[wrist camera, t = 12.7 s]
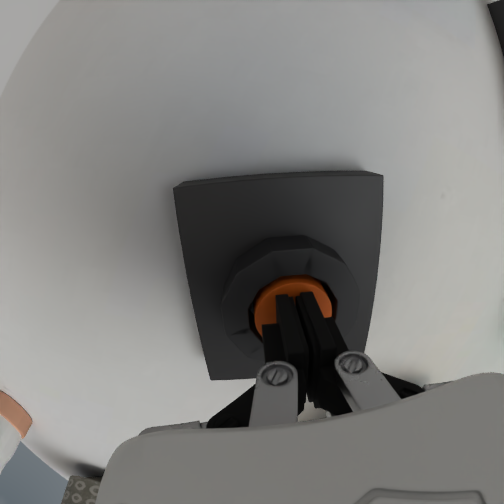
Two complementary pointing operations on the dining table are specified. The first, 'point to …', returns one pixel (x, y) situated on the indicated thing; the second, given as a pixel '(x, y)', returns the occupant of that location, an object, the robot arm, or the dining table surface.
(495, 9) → the panel
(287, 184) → the housing
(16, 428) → the pepper shaker
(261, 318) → the button
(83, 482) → the planter
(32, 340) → the dining table surface
